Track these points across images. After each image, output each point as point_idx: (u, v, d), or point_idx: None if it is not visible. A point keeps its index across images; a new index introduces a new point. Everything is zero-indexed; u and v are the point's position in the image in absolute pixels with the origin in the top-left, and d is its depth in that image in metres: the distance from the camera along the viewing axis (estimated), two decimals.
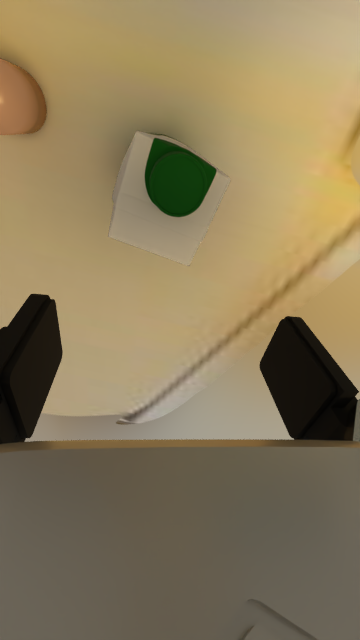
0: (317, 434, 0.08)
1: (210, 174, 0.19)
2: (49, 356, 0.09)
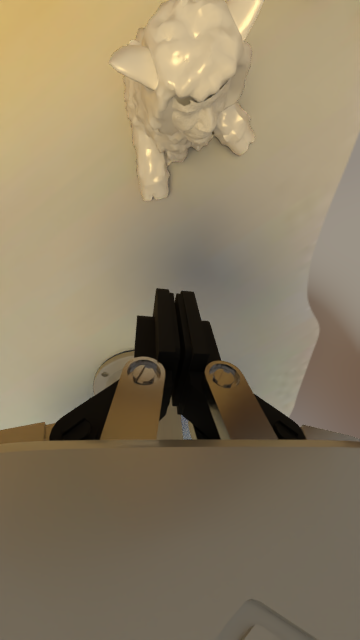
0: (184, 399, 0.09)
1: None
2: None
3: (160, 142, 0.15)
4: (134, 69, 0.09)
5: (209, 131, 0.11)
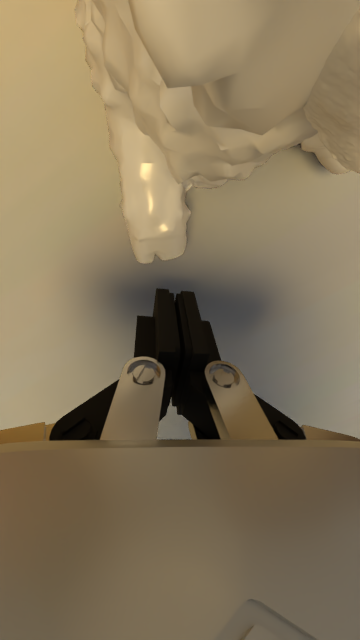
0: (184, 399, 0.09)
1: None
2: None
3: (182, 154, 0.04)
4: None
5: None
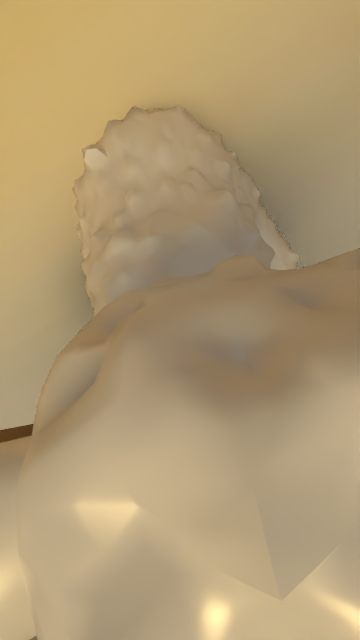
0: None
1: None
2: None
3: None
4: None
5: None
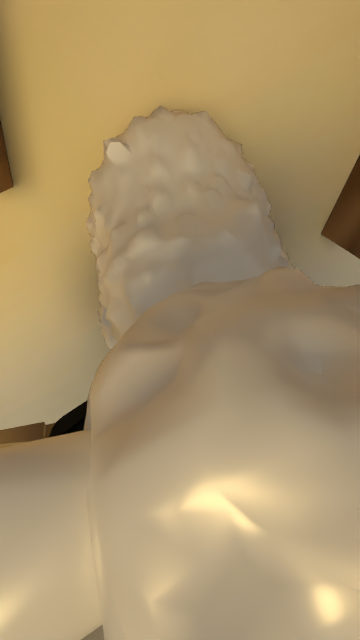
0: None
1: None
2: None
3: None
4: None
5: None
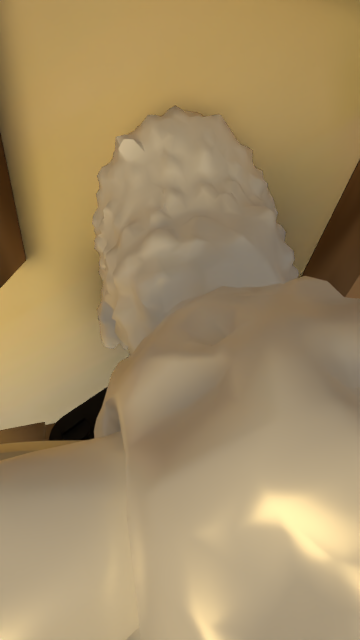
0: None
1: None
2: None
3: None
4: None
5: None
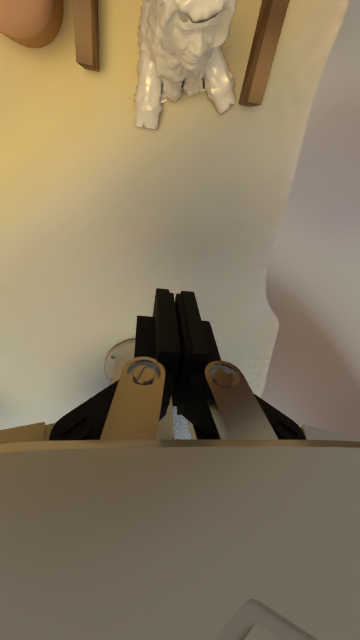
0: (184, 399, 0.09)
1: None
2: None
3: (160, 65, 0.18)
4: None
5: (197, 54, 0.15)
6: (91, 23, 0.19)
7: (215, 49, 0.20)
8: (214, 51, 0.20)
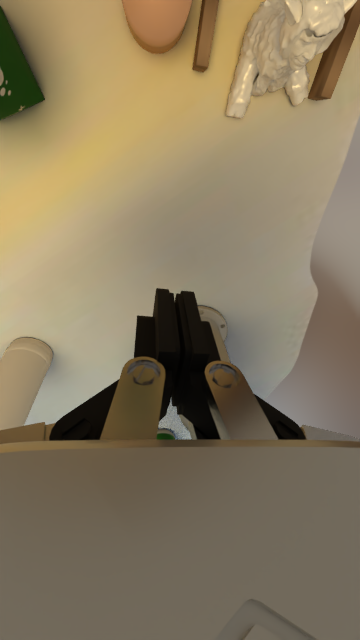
0: (183, 399, 0.09)
1: None
2: None
3: (267, 66, 0.24)
4: (294, 7, 0.19)
5: (310, 59, 0.21)
6: (212, 35, 0.25)
7: None
8: None
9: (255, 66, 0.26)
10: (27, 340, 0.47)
